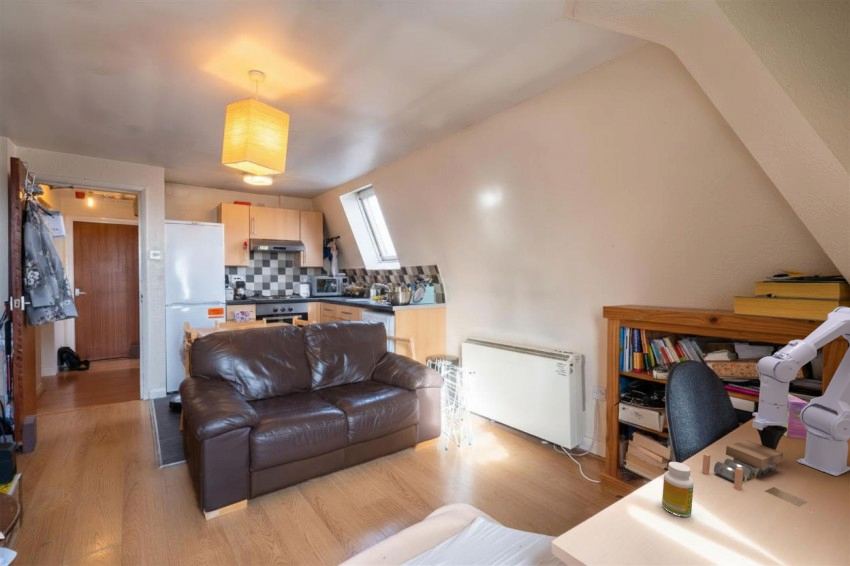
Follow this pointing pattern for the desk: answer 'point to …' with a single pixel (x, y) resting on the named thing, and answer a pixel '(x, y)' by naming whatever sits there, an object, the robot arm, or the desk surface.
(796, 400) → the box
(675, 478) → the supplement bottle
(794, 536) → the desk surface
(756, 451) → the slab
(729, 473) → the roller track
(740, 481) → the stop posts
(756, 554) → the desk surface
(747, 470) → the roller
